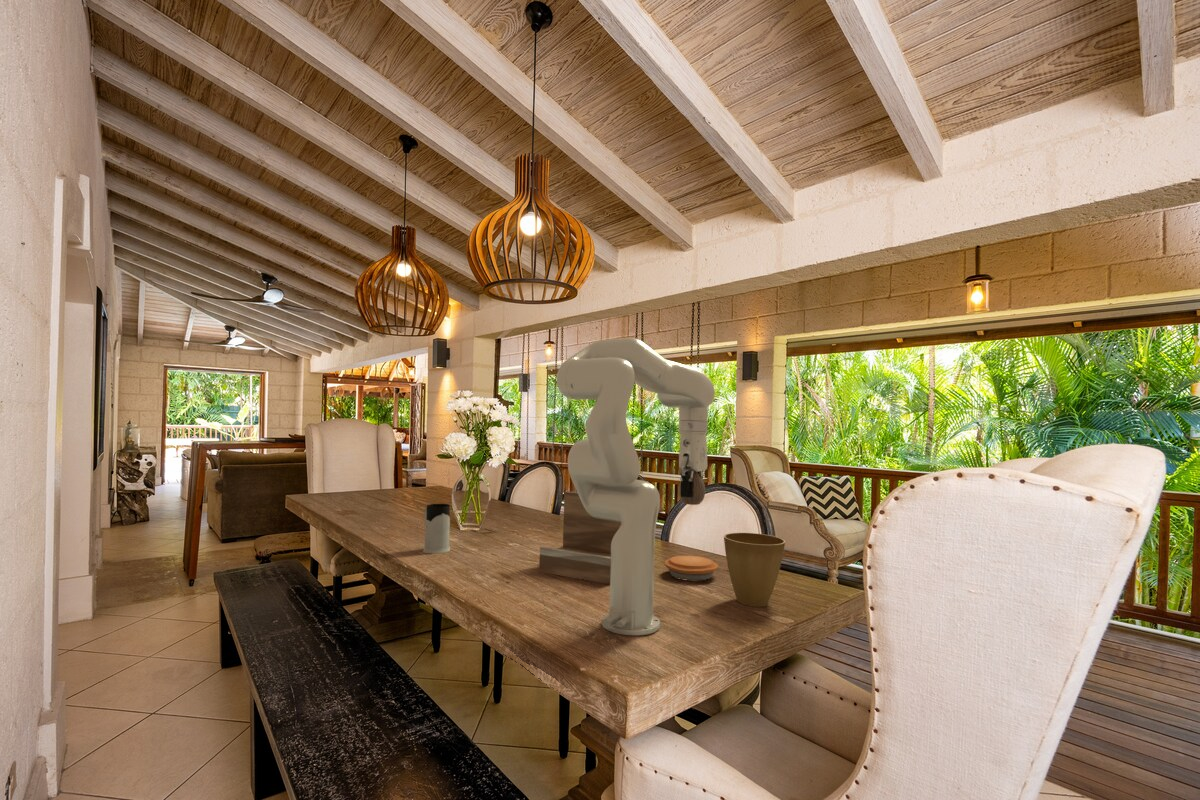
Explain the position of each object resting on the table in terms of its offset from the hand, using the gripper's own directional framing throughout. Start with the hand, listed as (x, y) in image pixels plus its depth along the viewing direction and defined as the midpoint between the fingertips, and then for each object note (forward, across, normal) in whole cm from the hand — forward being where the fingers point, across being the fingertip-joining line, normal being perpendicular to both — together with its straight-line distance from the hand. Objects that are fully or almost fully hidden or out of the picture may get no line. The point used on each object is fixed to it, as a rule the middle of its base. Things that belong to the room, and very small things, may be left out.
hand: (691, 494), depth 148 cm
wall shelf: (+26, +2, +33) cm, 41 cm away
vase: (+3, 0, 0) cm, 3 cm away
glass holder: (+26, -1, +91) cm, 94 cm away
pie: (+26, +16, +5) cm, 31 cm away
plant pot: (+26, +2, -16) cm, 30 cm away
